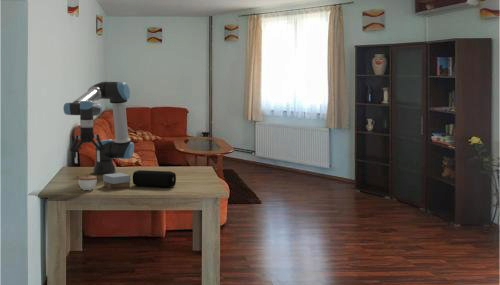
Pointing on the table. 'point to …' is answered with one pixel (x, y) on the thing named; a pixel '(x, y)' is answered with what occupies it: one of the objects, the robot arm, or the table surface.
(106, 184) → the tower base
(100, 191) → the table surface
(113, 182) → the tower top
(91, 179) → the lidded jar
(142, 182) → the portable speaker
